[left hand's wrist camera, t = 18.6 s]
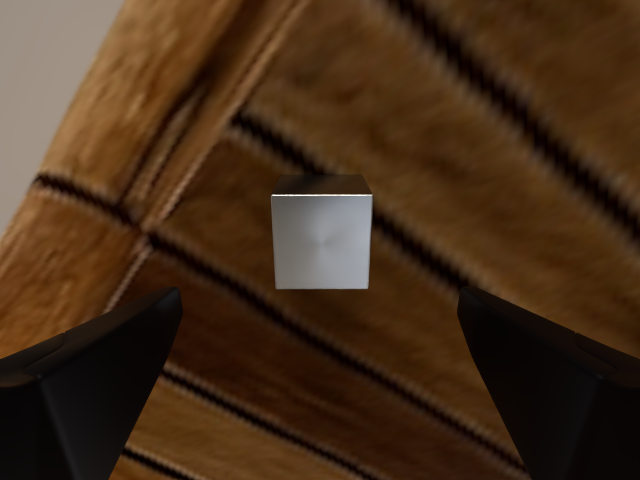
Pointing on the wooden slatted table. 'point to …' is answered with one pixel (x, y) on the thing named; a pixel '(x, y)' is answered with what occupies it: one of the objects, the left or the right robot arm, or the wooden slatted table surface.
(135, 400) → the left robot arm
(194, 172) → the wooden slatted table surface
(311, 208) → the block
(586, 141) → the wooden slatted table surface
